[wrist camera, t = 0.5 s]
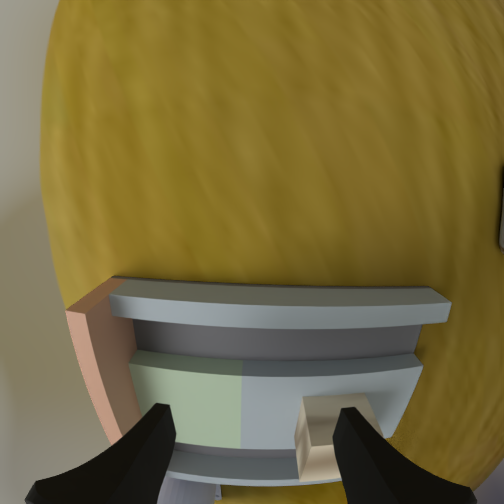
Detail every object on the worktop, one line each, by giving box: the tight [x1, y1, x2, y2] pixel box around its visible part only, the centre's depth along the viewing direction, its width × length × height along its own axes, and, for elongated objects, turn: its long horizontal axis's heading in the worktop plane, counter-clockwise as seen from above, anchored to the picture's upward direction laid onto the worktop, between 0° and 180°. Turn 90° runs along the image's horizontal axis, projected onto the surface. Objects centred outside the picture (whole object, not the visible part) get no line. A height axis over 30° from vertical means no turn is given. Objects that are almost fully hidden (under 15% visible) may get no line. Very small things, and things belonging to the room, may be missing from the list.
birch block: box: [294, 392, 384, 482], centre depth 17 cm, size 5×5×5 cm
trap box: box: [65, 276, 452, 486], centre depth 19 cm, size 21×24×6 cm
